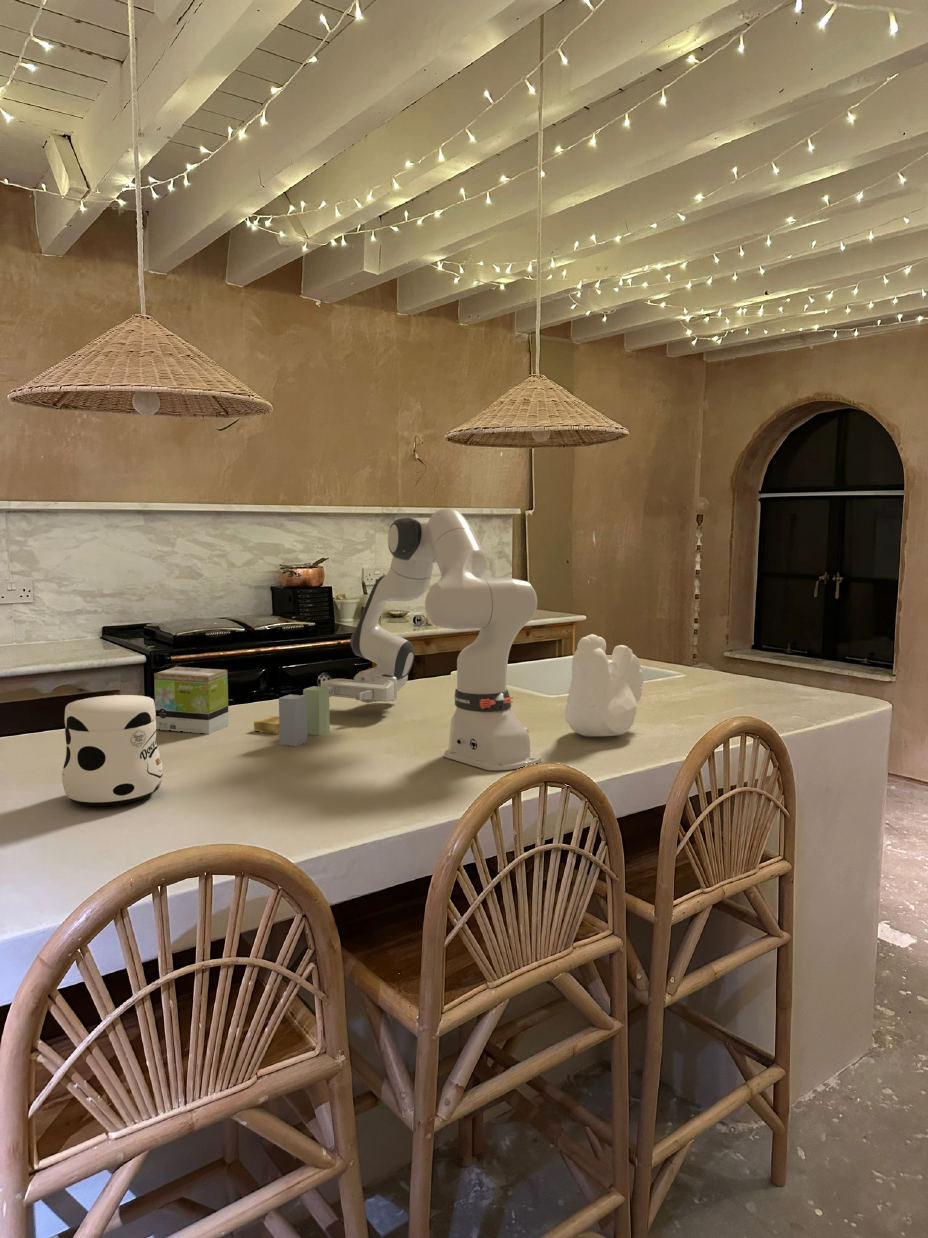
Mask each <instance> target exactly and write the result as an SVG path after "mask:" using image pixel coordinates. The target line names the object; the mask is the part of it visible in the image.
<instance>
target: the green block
mask: <svg viewBox="0 0 928 1238" xmlns="http://www.w3.org/2000/svg"><path fill="white" fill-rule="evenodd" d="M302 696H306V703H307V735H313V736H320V737H321V736H322V735H324V734H327V733H329V732H331V731H330V729H331V728H330V727H331V726H330V697H329V688H328V687H321V686H315V685H313V686H310V687H306V688H304V689H303V690H302Z"/></svg>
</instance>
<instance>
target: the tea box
mask: <svg viewBox="0 0 928 1238" xmlns="http://www.w3.org/2000/svg"><path fill="white" fill-rule="evenodd" d="M153 677H154V681H153V683H154V684H153V685H154V704H155V711H156V716H155V720H156V729H160V730H159V731H169V730H171V731H170V732H180V731H183V732H182V733H190V732H191V733H190V734H200V733H204V734H203V735H210V733H211V734H213V733H215V732H217V731H220V730H221V729H220V728H222V727H224V726H226V725H228V726H229V684H228V683H229V682H228V681H229V680H228V679H229V678H228V669H219V668H200V667H186V666H174V667H171V668H168V669H165V670H162V671H159V672H154V673H153ZM226 727H227V726H226ZM224 728H225V727H224ZM219 729H220V730H219ZM222 729H223V728H222ZM216 730H217V731H216ZM214 731H215V732H214ZM212 732H213V733H212Z"/></svg>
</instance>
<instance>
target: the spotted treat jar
mask: <svg viewBox="0 0 928 1238" xmlns="http://www.w3.org/2000/svg"><path fill="white" fill-rule="evenodd" d="M155 716H156V711H155V699H153V698H151V696H145V695H135V694H121V695H120V694H113V695H104V696H102V695H101V696H93V697H88V698H87V697H86V698H84V699H77V700H75V701H72V702H69V703H67V705H66V706H65V708H64V726H65V728H64V734H65V743H66V745H65V747H66V748H65V749H66V752H65V753H66V755H65V759H64V763H63V766H62V767H63V768H62V771H61V772H62V773H61V774H62V775H61V779H62V787H63V790H64V793H65V795H66V797H68V799H69V800H70V801H72V802H74V803H76V804H79V805H82V806H83V805H84V806H94V807H95V806H96V807H100V806H102V807H103V806H108V807H109V806H116V805H123V804H127V803H132V802H137V801H140V800H142V799H144V798H145V799H146V798H147V797H149V796H151V795H152V794H154V793H155V792H157V790H159V788H160V786H161V784H162V782H163V781H162V780H163V773H164V770H163V768H164V767H163V761H162V758H161V754H160V751H159V748H158V745H157V743H158V741H157V730H156V718H155Z"/></svg>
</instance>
